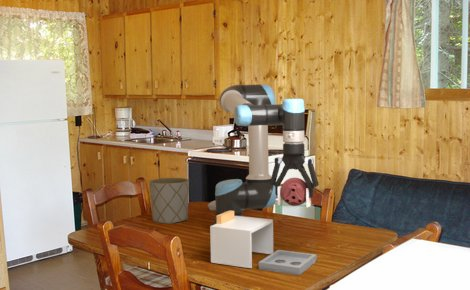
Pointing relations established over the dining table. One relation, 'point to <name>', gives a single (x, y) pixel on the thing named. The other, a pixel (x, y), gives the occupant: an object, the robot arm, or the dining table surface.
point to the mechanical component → (294, 191)
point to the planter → (169, 199)
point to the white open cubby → (240, 239)
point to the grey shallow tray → (288, 262)
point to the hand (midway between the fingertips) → (294, 205)
